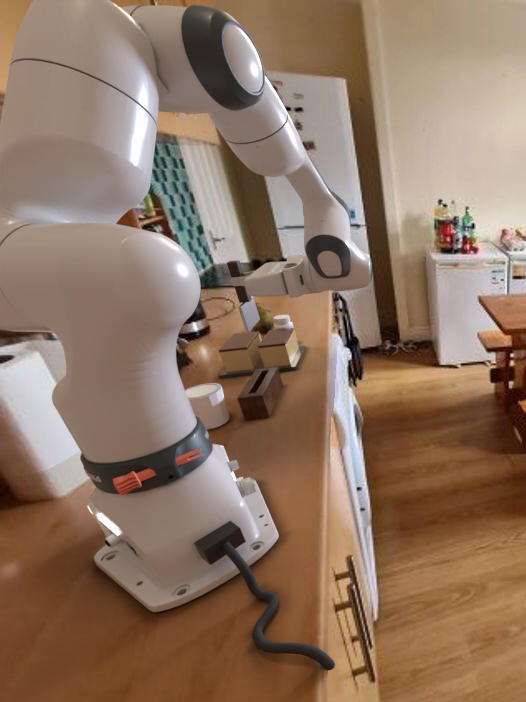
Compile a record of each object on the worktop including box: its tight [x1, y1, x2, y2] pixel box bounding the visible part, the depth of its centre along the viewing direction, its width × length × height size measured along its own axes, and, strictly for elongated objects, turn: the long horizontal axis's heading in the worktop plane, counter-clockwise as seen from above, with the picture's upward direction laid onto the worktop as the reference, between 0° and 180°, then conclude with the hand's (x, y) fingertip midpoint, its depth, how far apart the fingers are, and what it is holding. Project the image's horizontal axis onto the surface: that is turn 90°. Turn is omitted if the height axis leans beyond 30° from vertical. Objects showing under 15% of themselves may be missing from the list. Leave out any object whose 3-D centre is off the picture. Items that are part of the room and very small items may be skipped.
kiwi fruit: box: [251, 301, 275, 335], centre depth 129 cm, size 8×13×8 cm, turn 23°
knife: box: [226, 259, 260, 333], centre depth 95 cm, size 10×2×15 cm, turn 16°
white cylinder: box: [185, 382, 230, 430], centre depth 80 cm, size 7×7×7 cm
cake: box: [217, 327, 306, 379], centre depth 106 cm, size 15×17×7 cm
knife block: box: [236, 367, 284, 421], centre depth 87 cm, size 14×4×5 cm, turn 16°
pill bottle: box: [272, 314, 298, 340], centre depth 117 cm, size 5×5×8 cm
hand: (234, 279), depth 94 cm, fingers closed on knife, 2 cm apart
